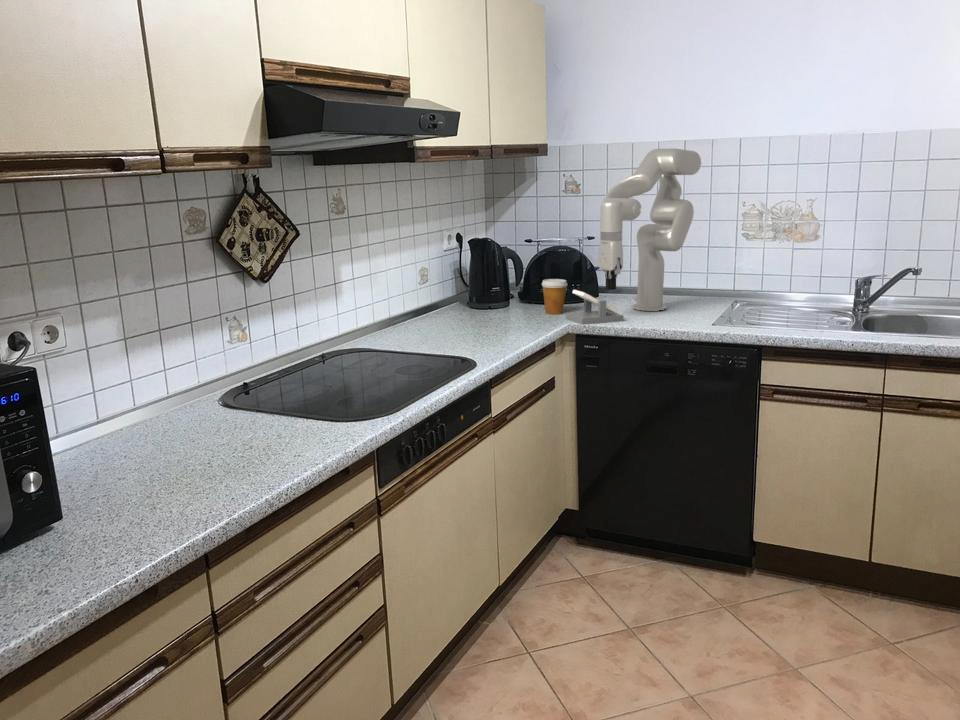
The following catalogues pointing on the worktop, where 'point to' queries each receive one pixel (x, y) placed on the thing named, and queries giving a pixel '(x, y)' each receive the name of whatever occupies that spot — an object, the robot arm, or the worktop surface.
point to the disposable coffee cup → (554, 295)
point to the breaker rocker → (593, 300)
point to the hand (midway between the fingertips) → (610, 289)
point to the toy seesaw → (594, 314)
